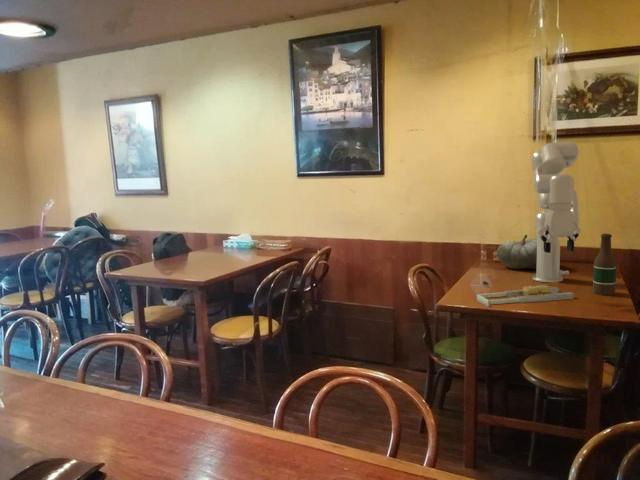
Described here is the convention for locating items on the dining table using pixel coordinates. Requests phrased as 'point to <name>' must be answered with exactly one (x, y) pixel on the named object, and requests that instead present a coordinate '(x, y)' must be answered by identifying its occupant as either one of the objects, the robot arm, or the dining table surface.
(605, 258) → the beer bottle
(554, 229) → the robot arm
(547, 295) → the slot board
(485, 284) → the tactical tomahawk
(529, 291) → the chip
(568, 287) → the dining table surface
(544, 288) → the chip
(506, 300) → the tray
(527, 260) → the gourd
